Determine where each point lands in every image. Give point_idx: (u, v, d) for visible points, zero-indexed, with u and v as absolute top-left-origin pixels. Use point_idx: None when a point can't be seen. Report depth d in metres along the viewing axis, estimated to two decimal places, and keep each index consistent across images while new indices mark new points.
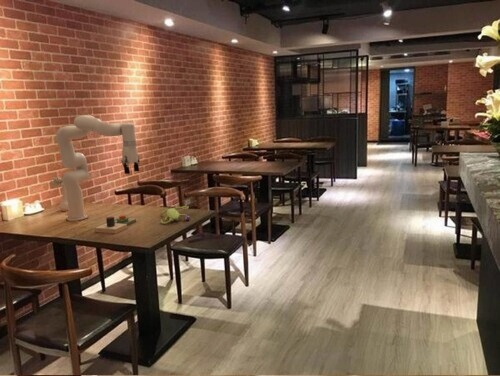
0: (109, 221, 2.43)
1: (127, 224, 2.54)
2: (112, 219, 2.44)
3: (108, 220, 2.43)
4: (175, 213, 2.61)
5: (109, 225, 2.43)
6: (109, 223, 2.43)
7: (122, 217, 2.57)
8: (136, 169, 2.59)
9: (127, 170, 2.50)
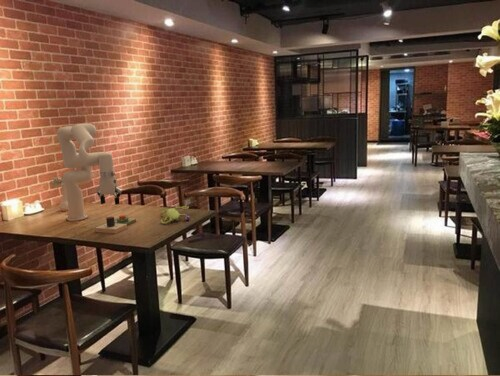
0: (109, 221, 2.43)
1: (127, 224, 2.54)
2: (112, 219, 2.44)
3: (108, 220, 2.43)
4: (175, 213, 2.61)
5: (109, 225, 2.43)
6: (109, 223, 2.43)
7: (122, 217, 2.57)
8: None
9: (101, 200, 2.44)
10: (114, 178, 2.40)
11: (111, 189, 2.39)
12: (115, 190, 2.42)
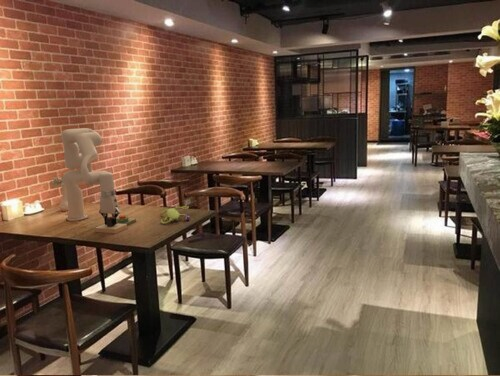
0: (109, 221, 2.43)
1: (127, 224, 2.54)
2: None
3: (108, 220, 2.43)
4: (175, 213, 2.61)
5: (109, 225, 2.43)
6: (109, 223, 2.43)
7: (122, 217, 2.57)
8: None
9: None
10: (115, 197, 2.41)
11: (111, 208, 2.40)
12: (115, 210, 2.44)
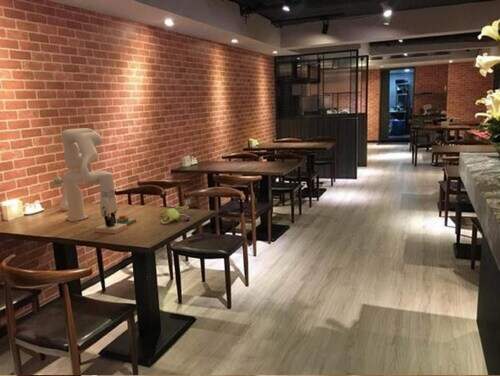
0: None
1: (127, 224, 2.54)
2: None
3: (113, 219, 2.45)
4: (175, 213, 2.61)
5: (114, 224, 2.46)
6: (114, 222, 2.46)
7: (122, 217, 2.57)
8: None
9: (108, 222, 2.42)
10: None
11: (115, 206, 2.47)
12: None
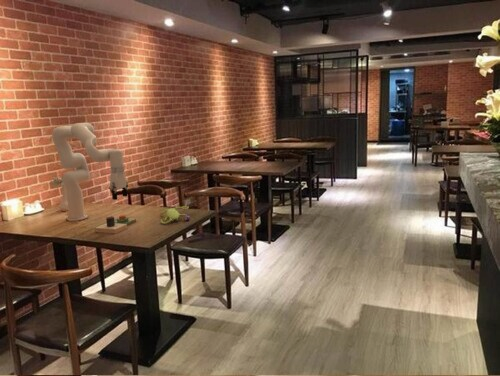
0: None
1: (127, 224, 2.54)
2: None
3: (113, 219, 2.45)
4: (175, 213, 2.61)
5: (114, 224, 2.46)
6: (114, 222, 2.45)
7: (122, 217, 2.57)
8: (124, 194, 2.60)
9: (115, 196, 2.51)
10: None
11: (125, 182, 2.57)
12: None
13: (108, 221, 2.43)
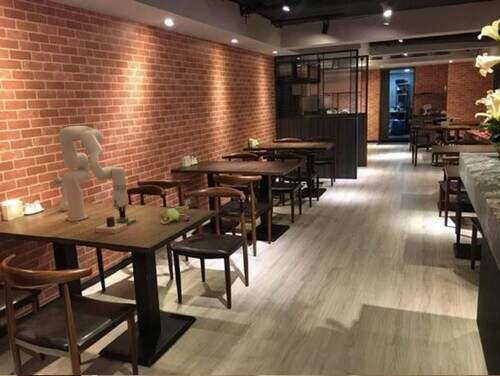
0: None
1: (127, 224, 2.54)
2: None
3: (113, 219, 2.45)
4: (175, 213, 2.61)
5: (114, 224, 2.46)
6: (114, 222, 2.45)
7: (122, 218, 2.58)
8: None
9: (122, 214, 2.57)
10: None
11: (127, 199, 2.60)
12: None
13: (108, 221, 2.43)
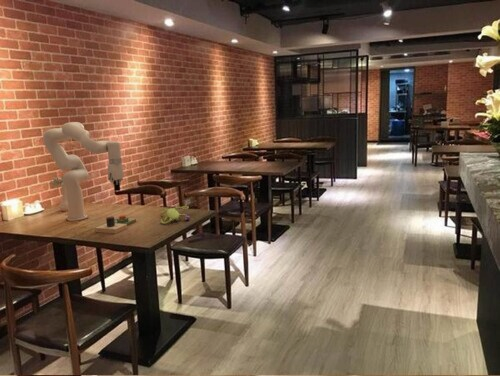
0: None
1: (127, 224, 2.54)
2: None
3: (113, 219, 2.45)
4: (175, 213, 2.61)
5: (114, 224, 2.46)
6: (114, 222, 2.45)
7: (122, 217, 2.57)
8: None
9: (117, 187, 2.61)
10: None
11: (122, 173, 2.64)
12: None
13: (108, 221, 2.43)
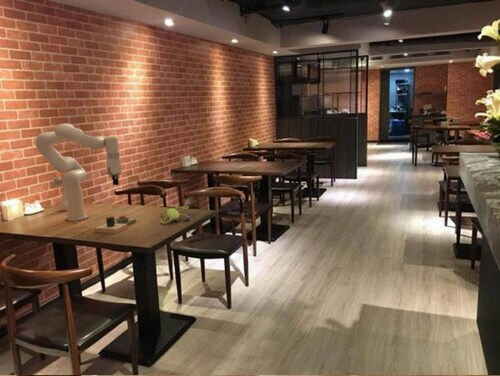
0: None
1: (127, 224, 2.54)
2: None
3: (113, 219, 2.45)
4: (175, 213, 2.61)
5: (114, 224, 2.46)
6: (114, 222, 2.45)
7: (122, 217, 2.57)
8: None
9: (115, 182, 2.67)
10: None
11: (120, 168, 2.69)
12: None
13: (108, 221, 2.43)
